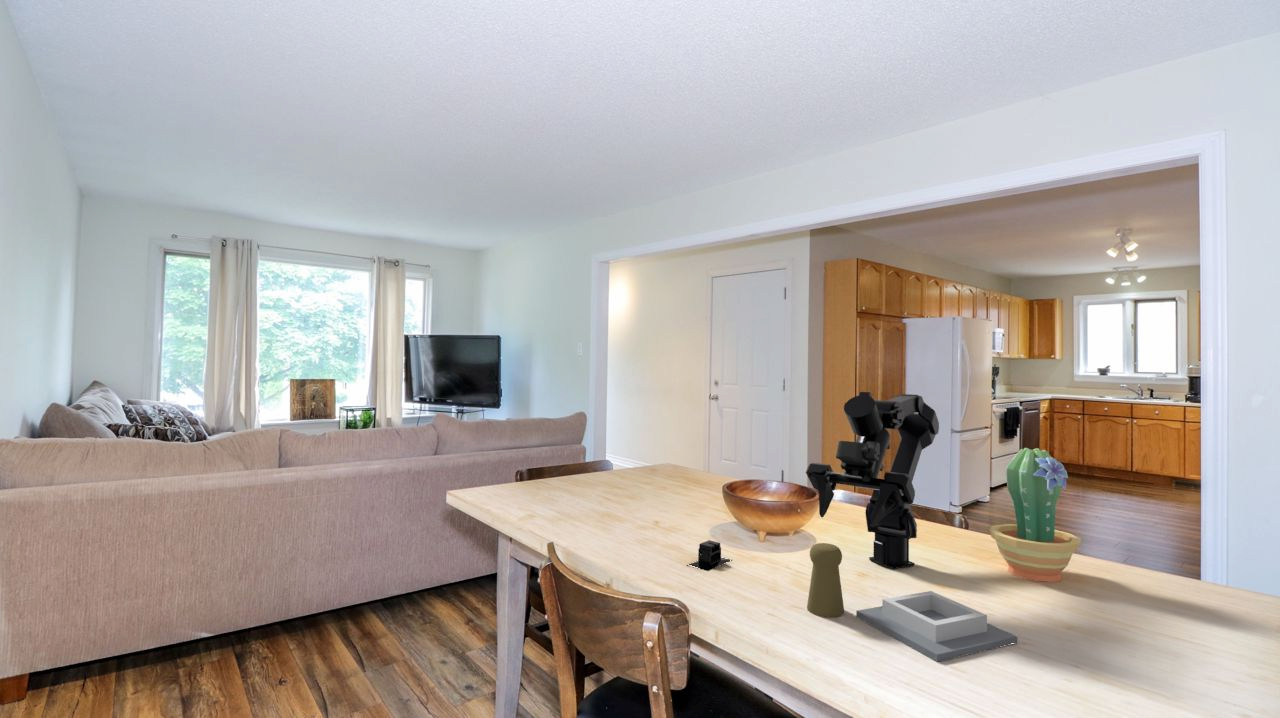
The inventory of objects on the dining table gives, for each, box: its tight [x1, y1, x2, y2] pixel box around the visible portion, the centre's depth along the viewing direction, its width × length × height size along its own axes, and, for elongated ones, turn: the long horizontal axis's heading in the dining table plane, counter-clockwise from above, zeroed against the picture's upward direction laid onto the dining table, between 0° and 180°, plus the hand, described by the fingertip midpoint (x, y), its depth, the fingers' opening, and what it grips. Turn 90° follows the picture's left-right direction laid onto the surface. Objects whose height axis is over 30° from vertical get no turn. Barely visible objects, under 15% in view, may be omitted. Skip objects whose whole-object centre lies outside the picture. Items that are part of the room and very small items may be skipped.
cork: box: [806, 542, 845, 619], centre depth 101 cm, size 6×6×11 cm
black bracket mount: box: [688, 539, 733, 572], centre depth 125 cm, size 12×7×5 cm, turn 139°
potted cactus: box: [989, 447, 1082, 583], centre depth 120 cm, size 15×15×25 cm
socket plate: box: [855, 590, 1018, 663], centre depth 94 cm, size 16×16×4 cm
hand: (845, 520), depth 107 cm, fingers open, 9 cm apart
